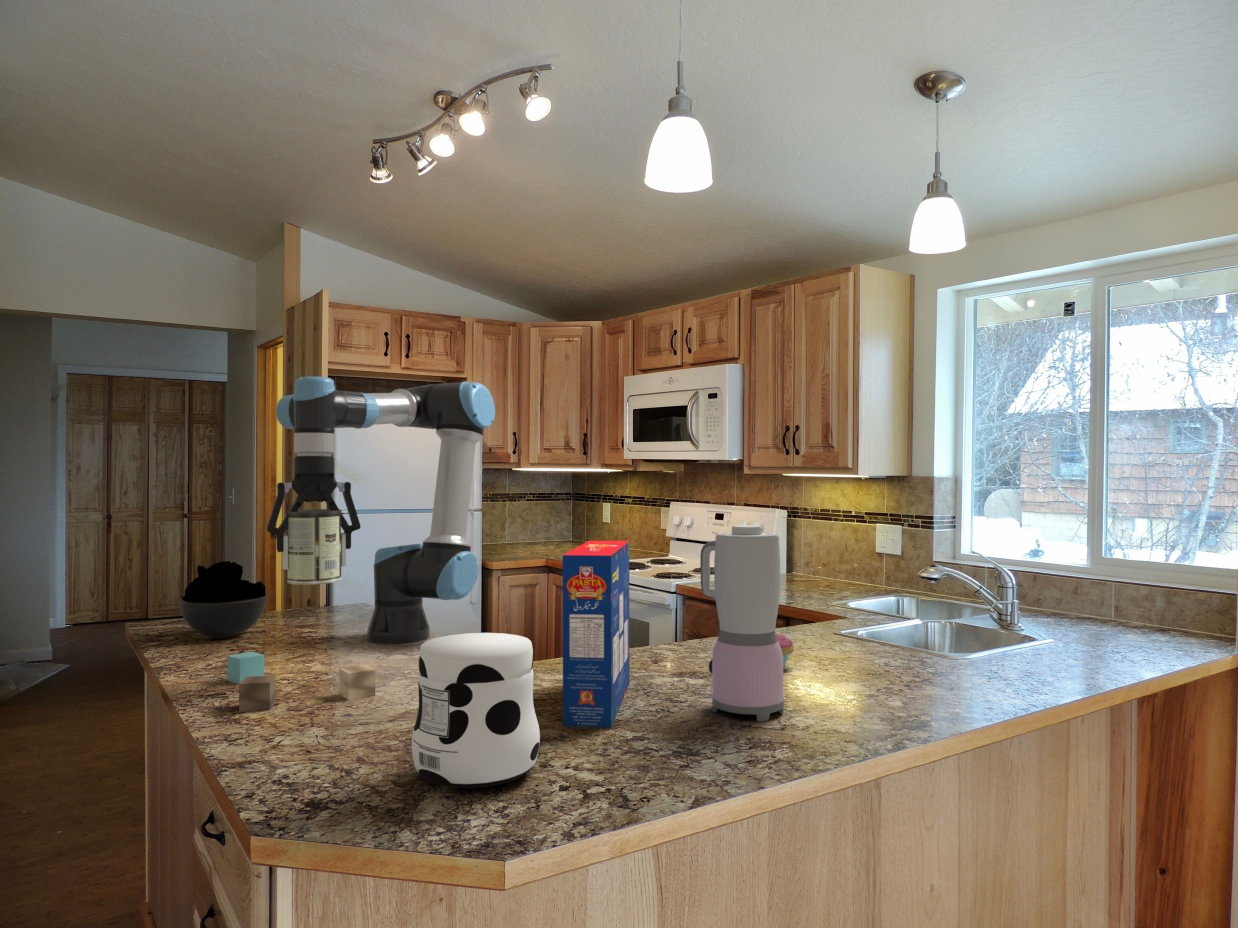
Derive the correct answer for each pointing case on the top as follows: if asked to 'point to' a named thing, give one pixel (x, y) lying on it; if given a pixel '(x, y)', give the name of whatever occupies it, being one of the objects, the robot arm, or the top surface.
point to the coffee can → (314, 546)
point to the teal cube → (244, 666)
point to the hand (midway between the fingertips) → (314, 567)
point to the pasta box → (595, 632)
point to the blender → (745, 621)
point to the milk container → (475, 710)
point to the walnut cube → (257, 693)
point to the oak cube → (356, 682)
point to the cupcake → (785, 647)
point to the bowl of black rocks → (222, 601)
